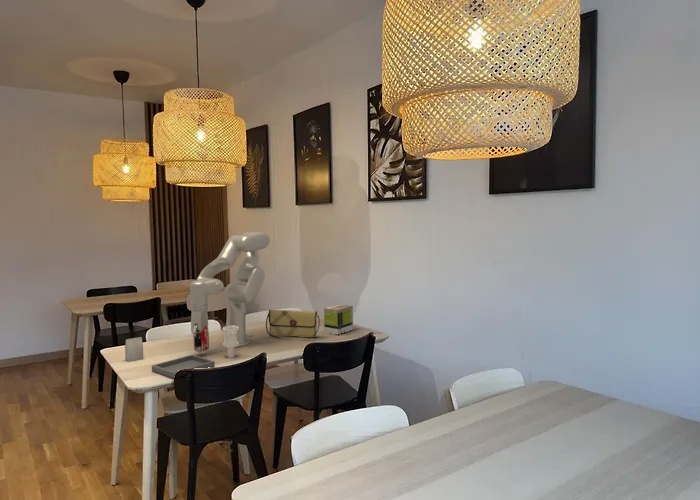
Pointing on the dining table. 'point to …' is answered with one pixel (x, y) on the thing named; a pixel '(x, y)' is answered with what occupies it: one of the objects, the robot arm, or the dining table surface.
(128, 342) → the grey carton
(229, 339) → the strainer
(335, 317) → the tea box
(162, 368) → the tray
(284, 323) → the clutch purse
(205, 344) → the soda can
